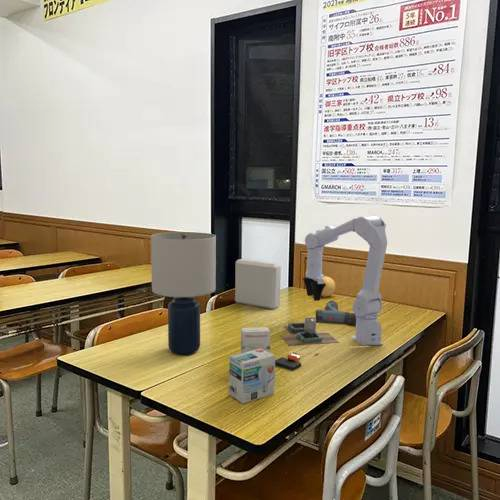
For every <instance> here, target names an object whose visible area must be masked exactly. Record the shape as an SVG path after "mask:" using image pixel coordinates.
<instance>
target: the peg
mask: <svg viewBox="0 0 500 500" xmlns="http://www.w3.org/2000/svg"><path fill="white" fill-rule="evenodd" d="M304 323H305V325H304V338H315V334H316V331H317V330H316V329H317V321H316V317H315V318H314V317H305V318H304Z"/></svg>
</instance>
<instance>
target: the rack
mask: <svg viewBox="0 0 500 500" xmlns="http://www.w3.org/2000/svg"><path fill="white" fill-rule="evenodd" d="M280 337H281V338H282V339H283V341H285V343H286V344H287V345H288V346H290V347H291V346H305V345H306V346H307V345H320V344H323V345H324V344H337V343H338V344H339V343H340V342H339V341H338V339H336V338H335V337H333V336H332V335H331V334H330V333H329V332H320V333H319V332H316V334H315V338H304V332H298V333H297V334H293V335H291V334H283V335H280Z"/></svg>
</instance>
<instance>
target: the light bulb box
mask: <svg viewBox="0 0 500 500" xmlns="http://www.w3.org/2000/svg"><path fill="white" fill-rule="evenodd" d="M275 360H276V355H275V354H273V353H271V352H270V353H269V352H267V351H265V350H263V349H261V348H260V349H256V350H252V351H248V352H244V353H241V352H240V353H236V354H231V355H229V370H228V371H229V372H228V373H229V377H228V379H229V382H228V383H229V384H228V386H229V387H228V395H230V396H231V397H233V398H234V399H235V400H237V402H239V403H241V404H246V403H250V402H253V401H257V400H261V399H263V398H265V397H269V396H273V395H275V377H276V365H275Z"/></svg>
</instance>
